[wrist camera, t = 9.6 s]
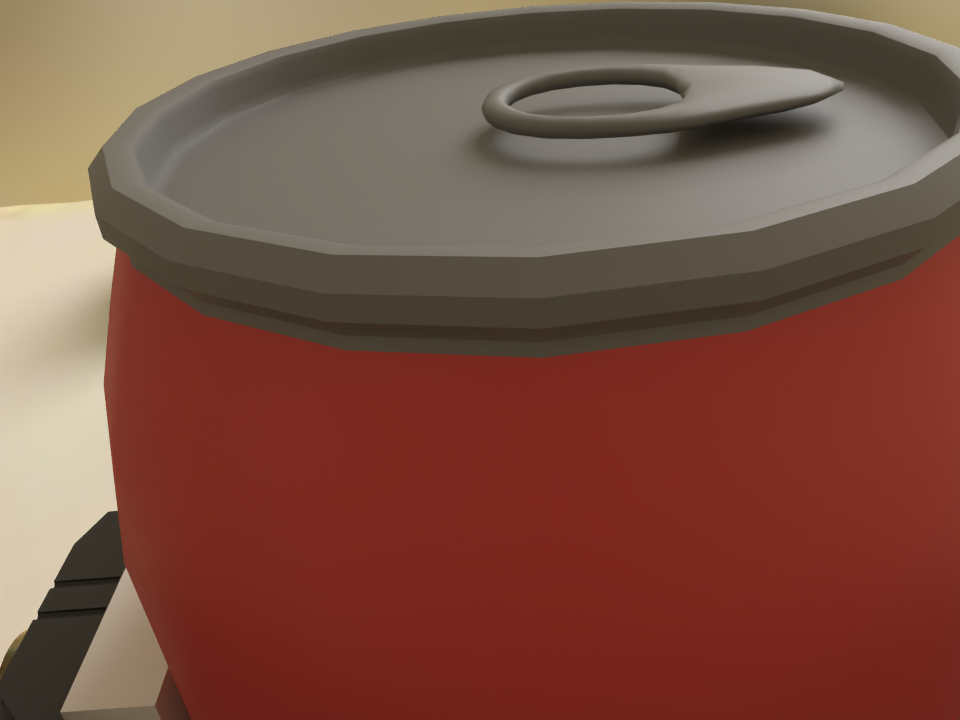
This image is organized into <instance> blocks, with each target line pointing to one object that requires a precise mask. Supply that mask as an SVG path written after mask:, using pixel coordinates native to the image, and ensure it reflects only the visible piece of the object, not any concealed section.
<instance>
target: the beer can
mask: <svg viewBox="0 0 960 720" xmlns="http://www.w3.org/2000/svg"><path fill="white" fill-rule="evenodd" d="M88 172H89V179H90V184H91V191H92V198H93V204H94V211H95V216H96V219H97V222H98V225H99V228H100V231H101V233H102V236H103V239H104V240H106V241H107V242H109V243H110V244H112V245H113V246H115V247H116V257H115V265H114V274H113V283H112V292H111V301H110V313H109V325H108V338H107V350H106V362H105V374H104V391H105V401H106V410H107V419H108V428H109V437H110V447H111V456H112V465H113V474H114V482H115V491H116V499H117V508H118V516H119V525H120V533H121V541H122V550H123V558H124V564H125V566H126V569H127V571H128V574H129V576H130V578H131V581H132V583H133V585H134V588H135V590H136V592H137V595H138V597H139V599H140V602H141V604H142V606H143V609H144V611H145V613H146V616H147V618H148V620H149V623H150V625H151V627H152V630H153V632H154V634H155V637H156V639H157V641H158V644H159V646H160V648H161V651H162V653H163V655H164V658H165V660H166V662H167V665H168V667H169V669H170V672H171V674H172V676H173V679H174V681H175V683H176V686H177V688H178V690H179V693H180V695H181V698H182V700H183V702H184V705H185V707H186V709H187V712H188V714H189V716H190V719H191V720H958V719H959V717H960V48H959V47H956V46H953V45H950V44H947V43H944V42H941V41H939V40H936V39H933V38H930V37H927V36H924V35H921V34H918V33H915V32H912V31H910V30H907V29H904V28H901V27H898V26H895V25H892V24H887V23H881V22H875V21H869V20H863V19H858V18H852V17H847V16H841V15H835V14H829V13H824V12H818V11H812V10H807V9H793V8H780V7H768V6H754V5H741V4H729V3H715V2H714V3H712V2H608V3H589V4H569V5H551V6H530V7H521V8H513V9H503V10H494V11H485V12H475V13H465V14H456V15H447V16H438V17H433V18H427V19H421V20H415V21H409V22H403V23H397V24H391V25H385V26H380V27H373V28H368V29H361V30H356V31H351V32H346V33H342V34H338V35H334V36H330V37H326V38H321V39H317V40H313V41H309V42H305V43H301V44H297V45H292V46H289V47H284V48H280V49H276V50H272V51H268V52H265V53H263V54H260V55H257V56H254V57H251V58H248V59H245V60H242V61H239V62H237V63H234V64H231V65H228V66H225V67H222V68H219V69H216V70H213V71H211V72H208V73H205V74H202V75H199V76H196V77H194V78H192V79H191V80H189V81H187V82H185V83H183V84H181V85H179V86H177V87H176V88H174V89H172V90H170V91H168V92H166V93H164V94H162V95H160V96H159V97H157V98H155V99H153V100H151V101H149V102H148V103H146V104H144V105H142V106H140V107H138V108H136V109H135V110H134V111H133V113H132V114H131V115H130V116H129V117H128V118H127V119H126V120H125V122H124V123H123V124H122V125H121V126H120V127H119V128H118V130H117V131H116V132H115V133H114V134H113V135H112V136H111V137H110V139H109V140H108V141H107V142H106V143H105V144H104V145H103V146H102V148H101V149H100V151H99V152H98V154H97V155H96V157H95V158H94V160H93V161H92V163H91V165H90V166H89V168H88Z"/></svg>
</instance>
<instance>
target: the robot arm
mask: <svg viewBox="0 0 960 720" xmlns="http://www.w3.org/2000/svg"><path fill="white" fill-rule="evenodd" d="M54 583H55V586H54V588H52V589H50V590H49V592H48V593H47V595H46V597H45V599H44V601H43V603H42V605H41V606H40V608H39V610H38V618H37V620H33V621H32V623H31V625H30V627H29V628H28V630H27V632H26V634H25V636H24V638H23V640H22V641H21V643H20V645H19V647H18V649H17V651H16V652H15V654H14V656H13V658H12V660H11V662H10V664H9V665H8V667H7V669H6V671H5V673H4V675H3V676H2V678H1V680H0V720H191V719H190V716H189V714H188V712H187V709H186V707H185V705H184V702H183V700H182V698H181V695H180V693H179V690H178V688H177V686H176V683H175V681H174V679H173V676H172V674H171V672H170V669H169V667H168V665H167V662H166V660H165V658H164V655H163V653H162V651H161V648H160V646H159V644H158V641H157V639H156V637H155V634H154V632H153V630H152V627H151V625H150V623H149V620H148V618H147V616H146V613H145V611H144V609H143V606H142V604H141V602H140V599H139V597H138V595H137V592H136V590H135V588H134V585H133V583H132V581H131V578H130V576H129V574H128V571H127V569H126V566H125V564H124V558H123V550H122V541H121V533H120V525H119V516H118V511H112V512H108V513H106V514H105V515H104V516H103V517H102V518H101V519H100V520H99V521H98V522H97V523H96V524H95V525H94V526H93V527H92V528H91V529H90V530H89V531H88V532H87V533H86V534H84V535H83V536H82V537H81V538H80V539H79V540H78V541H77V542H76V543H75V544H74V545H73V547H72V549H71V551H70V553H69V555H68V557H67V558H66V560H65V562H64V564H63V566H62V568H61V569H60V571H59V573H58V575H57V577H56V579H55V581H54ZM958 720H960V717H959V719H958Z"/></svg>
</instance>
